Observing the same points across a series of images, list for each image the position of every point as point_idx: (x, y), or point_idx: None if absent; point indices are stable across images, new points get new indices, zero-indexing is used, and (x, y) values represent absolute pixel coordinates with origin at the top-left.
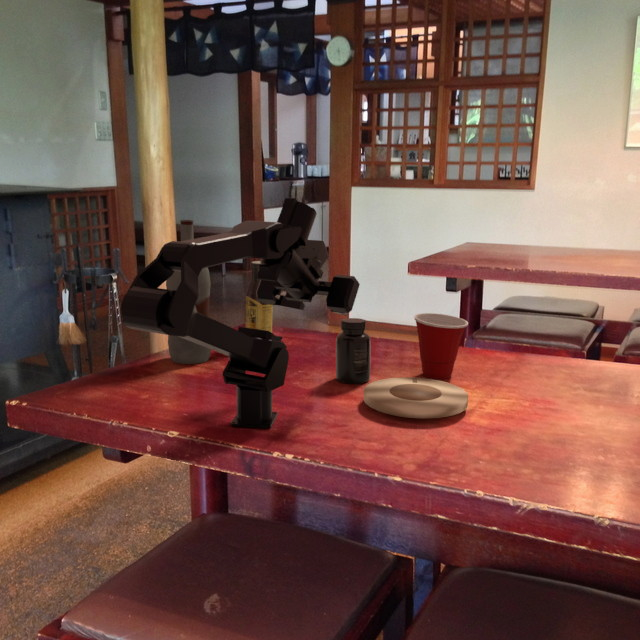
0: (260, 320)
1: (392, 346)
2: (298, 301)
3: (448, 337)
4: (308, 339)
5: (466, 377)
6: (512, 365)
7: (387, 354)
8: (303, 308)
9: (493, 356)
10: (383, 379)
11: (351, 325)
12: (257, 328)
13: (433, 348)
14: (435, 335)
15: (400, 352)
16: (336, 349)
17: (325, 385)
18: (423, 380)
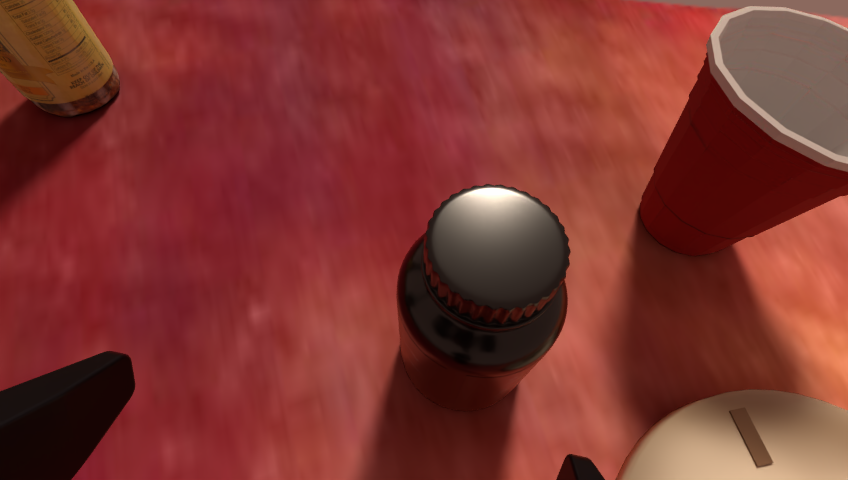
0: (19, 37)
1: (468, 25)
2: (6, 468)
3: None
4: (232, 19)
5: None
6: None
7: (479, 84)
8: (128, 384)
9: None
10: (637, 467)
11: (508, 318)
12: (30, 66)
13: (767, 215)
14: (825, 191)
15: (505, 62)
16: (407, 344)
17: (385, 458)
18: (775, 422)
